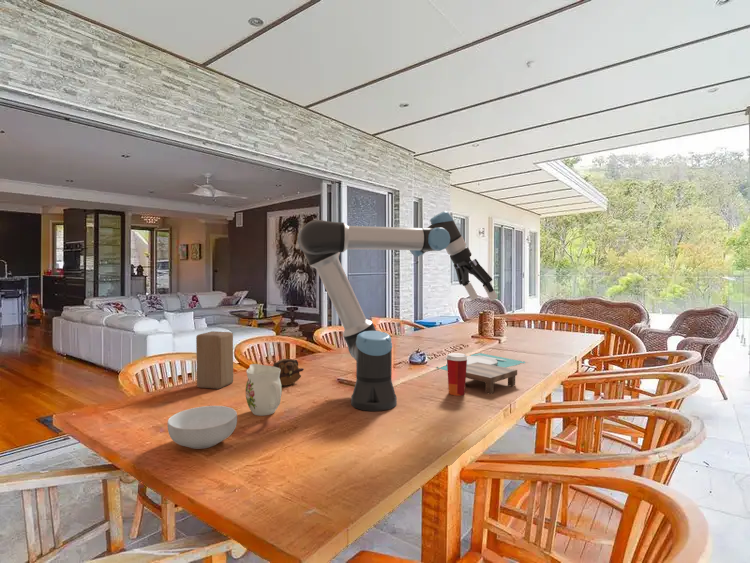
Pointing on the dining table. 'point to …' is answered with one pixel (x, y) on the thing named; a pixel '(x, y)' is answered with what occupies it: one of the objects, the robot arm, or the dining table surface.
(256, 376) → the pitcher
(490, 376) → the walnut stand
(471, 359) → the place mat
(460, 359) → the paper cup
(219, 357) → the block
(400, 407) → the dining table surface
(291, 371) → the wooden carving
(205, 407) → the cereal bowl
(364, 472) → the dining table surface
